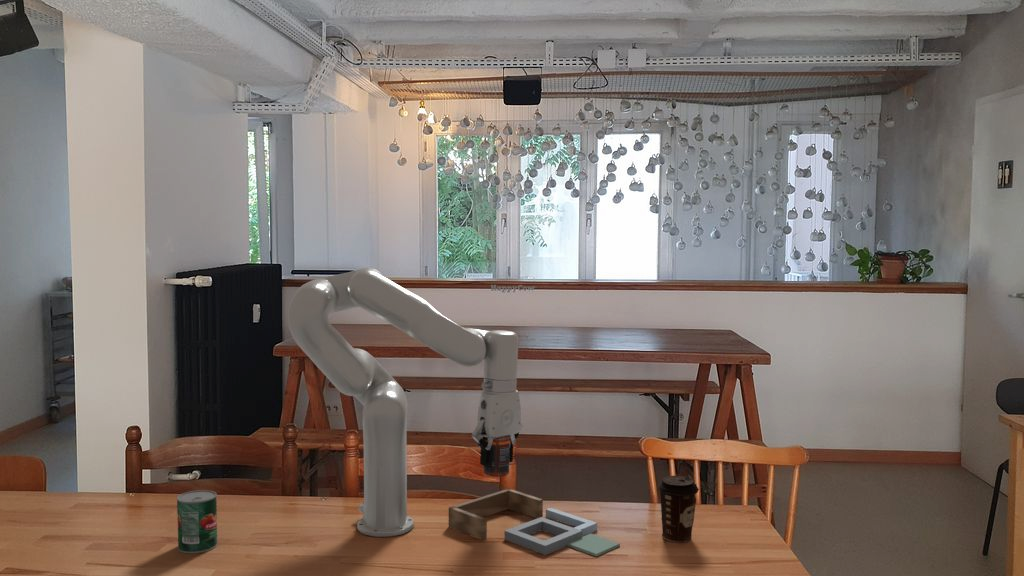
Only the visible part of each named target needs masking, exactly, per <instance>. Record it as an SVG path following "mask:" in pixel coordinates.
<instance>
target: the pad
mask: <svg viewBox="0 0 1024 576" xmlns="http://www.w3.org/2000/svg"><path fill="white" fill-rule="evenodd" d="M566 547H568V548H572V549H574V550H577V551H580V552H582V553H586V554H588V555H591V556H594V557H596V558H597V557H599V556H601V555H603V554H606V553H608V552H610V551H613V550H614V549H617V548H619V547H621V543H620V542H617V541H615V540H611V539H609V538H606V537H603V536H599V535H597V534H594V533H590V534H588V535H585V536H583V537H581V538H579V539H576V540H574V541H572V542H569V543H567V546H566Z"/></svg>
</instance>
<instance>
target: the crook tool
mask: <svg viewBox="0 0 1024 576" xmlns="http://www.w3.org/2000/svg"><path fill="white" fill-rule="evenodd" d="M545 518H547V519H550V520H551V519H552V520H554V519H555V520H554V521H557V520H558V521H557V522H560V521H561V522H560V523H563V522H564V523H563V524H566V523H567V524H566V525H568V526H571V525H572V526H571V527H573V528H575V529H578V530H581V531H582V537H584V536H586V535H588V534H593V533H594V532H596V531H598V522H596V521H593V520H590V519H587V518H583V517H580V516H578V515H575V514H571V513H568V512H566V511H562V510H561V509H560V510H559V509H557V508H554V507H548V508H546V509H545ZM574 526H575V527H574Z"/></svg>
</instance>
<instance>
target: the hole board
mask: <svg viewBox="0 0 1024 576" xmlns="http://www.w3.org/2000/svg"><path fill="white" fill-rule="evenodd" d="M540 530H541V531H543V530H544V532H546V531H547V532H546V533H549V534H551V535H555V536H552V537H550V538H547V539H545V540H544V539H541V538H539V537H536V536H533V534H535V533H534V532H536V533H538V532H541V531H540ZM503 532H504V539H506V540H505V541H507V540H508V541H507V542H510V541H511V542H510V543H512V542H513V543H512V544H515V543H516V544H515V545H517V544H518V545H517V546H520V545H521V546H520V547H523V546H524V548H525V547H526V548H525V549H528V548H529V550H530V549H531V551H533V550H534V551H533V552H535V553H538V552H539V553H538V554H541V555H544V556H546V555H549V554H551V553H552V554H553V553H554V552H556V551H558V550H561V549H563V548H565V547H568V546H567V543H569V542H572V541H574V540H576V539H579V538H581V537H582V531H581V530H578V529H575V528H574V527H573V526H570V525H568V524H565V523H562V522H559V521H556V520H553V519H552V520H551V519H550V518H547V517H544V516H543V517H540V518H534V519H533V520H529V521H527V522H524V523H522V524H519V525H516V526H514V527H510V528H508V529H505V530H504V531H503ZM532 533H533V534H532ZM530 534H531V535H530Z"/></svg>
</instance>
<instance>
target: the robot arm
mask: <svg viewBox="0 0 1024 576" xmlns="http://www.w3.org/2000/svg"><path fill="white" fill-rule="evenodd" d="M356 308H360V309H363V310H364V311H366V312H368V313H369V314H372V315H373V316H375V317H377V318H379V319H380V320H382V321H384V322H386V323H388V324H389V325H391V326H393V327H395V328H397V330H400V331H402V332H404V333H405V334H406V335H408V336H409V337H410V338H413V339H415V340H416V341H417V342H419V343H421V344H423V345H424V346H426V347H428V348H429V349H431V350H433V351H434V352H436V353H438V354H439V355H441V356H443V357H444V358H447V359H448V360H449V361H452V362H454V364H457V365H460V366H462V367H467V368H470V367H471V368H473V367H475V366H477V365H479V364H480V363H482V362H483V361H484V363H483V364H484V365H483V382H482V383H481V386H480V387H481V388H482V391H481V393H480V394H481V395H480V399H479V404H478V411H477V421H476V424H477V425H476V426H475V428H474V430H473V431H472V433H471V434H470V435H471V437H472V438H473V440H474V441H475V443H476V444H477V445H478V448H480V456H479V457H480V460H479V461H480V462H479V463H480V465H481V466H483V467H484V466H486V467H491V466H492V450H491V449H490V448H491V445H492V442H493V439H494V438H499V437H504V436H510V463H512V462H513V460H514V445H515V444H516V441H517V438H518V437H519V434H520V433H521V431H522V429H523V428H524V424H522V417H521V413H522V412H521V410H522V409H521V398H520V392H519V391H518V390H517V384H518V383H517V379H518V376H517V375H518V357H519V336H518V334H517V333H516V332H515V331H510V330H503V329H502V330H501V329H500V330H499V329H498V330H483V329H479V328H471V327H463V326H461V325H460V324H457V323H455V322H454V321H452V320H451V319H449V318H447V317H446V316H445V315H443V314H441V312H439V311H438V310H437V309H435V308H434V307H433V306H432V305H431V304H430V303H429V302H428V301H427V300H425V299H424V298H423V297H421V296H419V295H418V294H415V293H413V292H411V291H410V290H408V289H406V288H404V287H402V286H401V285H399V284H397V283H396V282H394V281H392V280H391V279H389V278H387V277H386V276H384V275H383V273H382V272H380V271H379V270H378V269H375V268H373V267H365V268H360V269H356V270H352V271H349V272H344V273H339V274H333V275H329V276H324V277H319V278H316V279H312V280H310V281H308V282H306V283H304V284H302V285H301V286H300V287H299V288H298V289H297V290H296V291H295V292H294V294H293V297H292V298H291V300H290V304H289V307H288V311H287V312H288V313H287V325H288V329H289V332H290V335H291V337H292V338H293V340H294V342H295V343H296V344H297V346H298V347H299V348H300V349H301V351H303V353H304V354H305V355H306V356H307V357H308V358H309V359H310V361H312V363H313V364H314V365H315V366H316V367H317V368H318V369H319V371H321V373H322V374H323V375H324V376H325V377H326V378H327V379H328V380H329V382H330V383H331V384H332V385H333V386H334V387H335V388H336V389H337V390H338V391H339V392H340V393H341V394H344V395H345V396H349V397H354V398H355V399H356V400H358V402H359V403H360V404H361V405H362V406H363V409H362V432H363V433H362V436H363V501H362V504H359V505H358V506H357V510H358V511H360V512H362V518H360V519H359V520H358V521H357V525H356V526H357V530H358V531H359V532H360V533H361V534H363V535H364V536H365V535H366V536H369V537H378V538H383V537H387V538H388V537H395V536H399V535H400V536H401V535H403V534H406V533H408V532H410V531H411V530H412V529H413V527H414V525H415V524H414V523H415V521H414V519H413V517H411V516H409V515H408V512H407V511H408V510H407V509H408V503H407V502H408V495H407V494H408V493H407V492H408V491H407V488H408V487H407V486H408V484H407V483H408V479H407V477H408V475H407V473H408V471H407V469H408V468H407V465H408V464H407V461H408V460H407V457H408V456H407V421H408V420H407V419H408V416H407V415H408V398H407V397H408V396H407V394H406V392H405V390H404V389H403V388H402V386H401V385H400V384H399V383H398V382H397V381H396V379H395V378H394V377H393V376H392V375H391V374H390V373H389V372H388V371H387V370H386V369H385V368H384V366H382V365H381V363H380V362H379V361H378V360H377V359H376V358H375V357H374V356H373V355H372V354H370V353H369V352H368V351H366V350H365V349H361V348H358V347H357V348H355V347H353V345H351V344H350V343H349V342H348V341H347V340H346V338H344V336H343V335H342V334H341V333H340V332H339V330H337V329H336V328H335V327H334V326H333V325H332V324H331V322H330V321H329V320H330V319H329V315H330V314H333V313H338V312H342V311H347V310H350V309H356ZM486 438H488V440H487V443H486V441H485V440H486Z"/></svg>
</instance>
